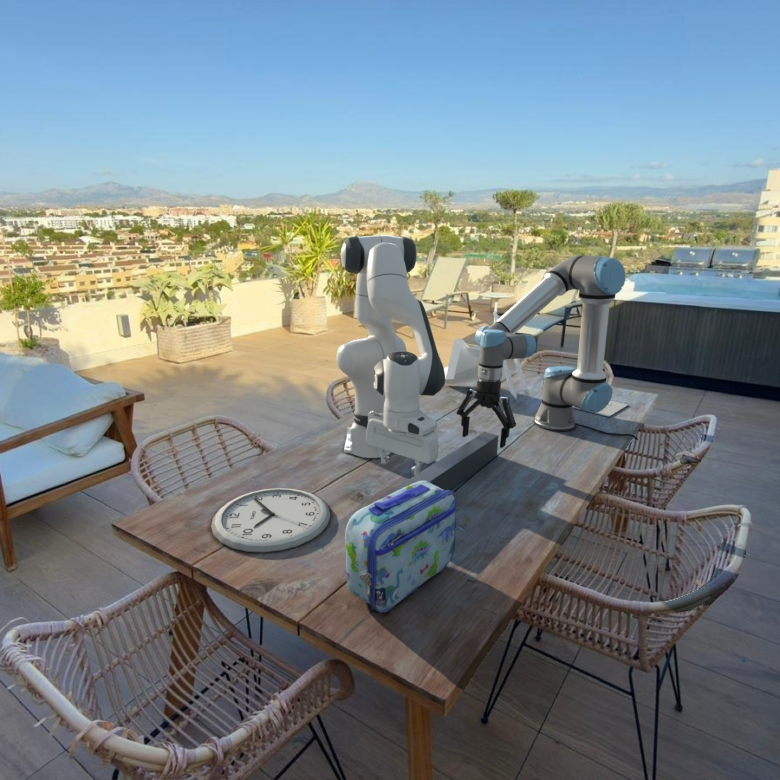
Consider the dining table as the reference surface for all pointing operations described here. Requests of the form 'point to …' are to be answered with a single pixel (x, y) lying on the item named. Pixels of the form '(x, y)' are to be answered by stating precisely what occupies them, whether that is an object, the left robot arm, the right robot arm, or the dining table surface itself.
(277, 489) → the wall clock
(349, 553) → the lunch box
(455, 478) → the post
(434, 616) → the dining table surface
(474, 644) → the dining table surface
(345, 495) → the dining table surface
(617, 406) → the invitation card
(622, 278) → the right robot arm
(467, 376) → the white plastic object
